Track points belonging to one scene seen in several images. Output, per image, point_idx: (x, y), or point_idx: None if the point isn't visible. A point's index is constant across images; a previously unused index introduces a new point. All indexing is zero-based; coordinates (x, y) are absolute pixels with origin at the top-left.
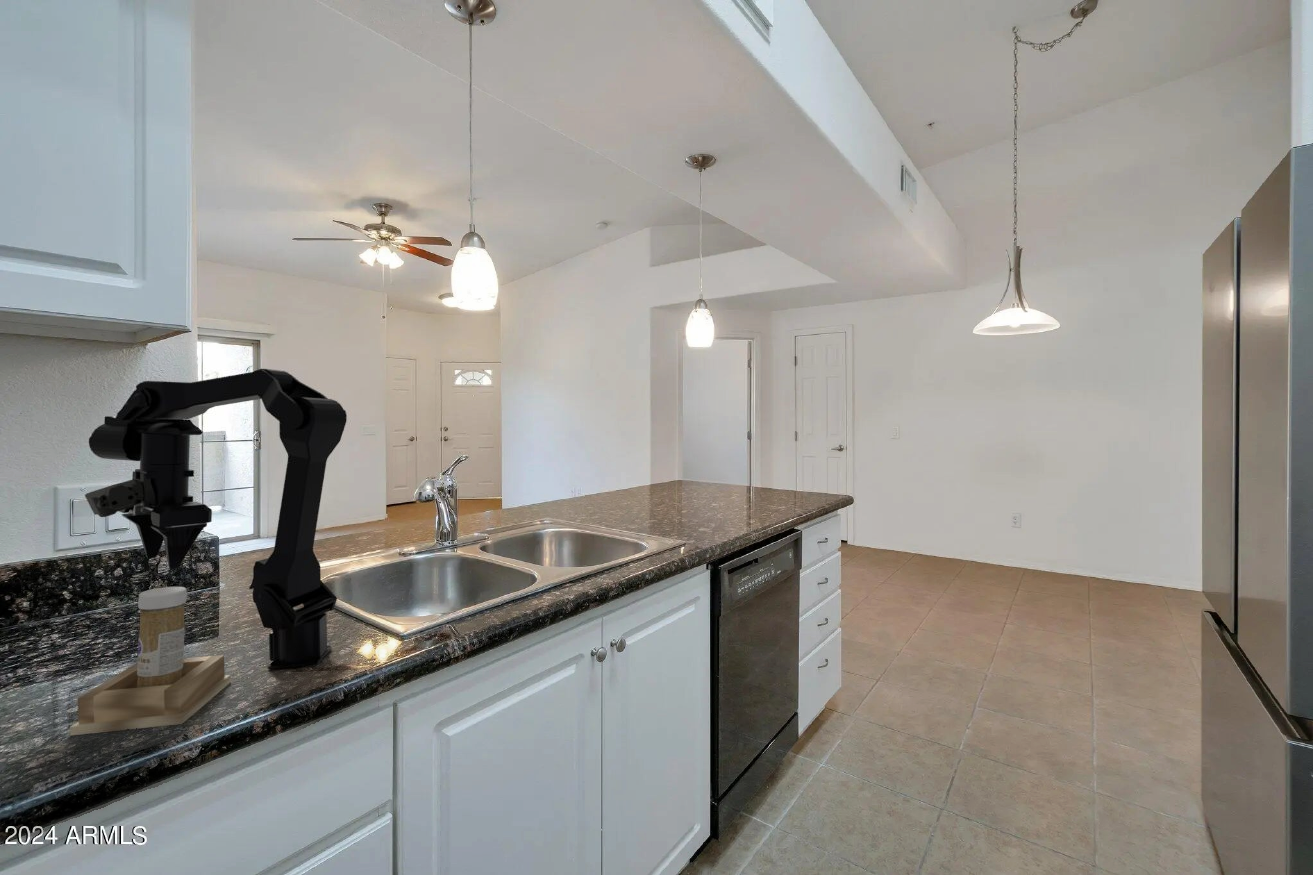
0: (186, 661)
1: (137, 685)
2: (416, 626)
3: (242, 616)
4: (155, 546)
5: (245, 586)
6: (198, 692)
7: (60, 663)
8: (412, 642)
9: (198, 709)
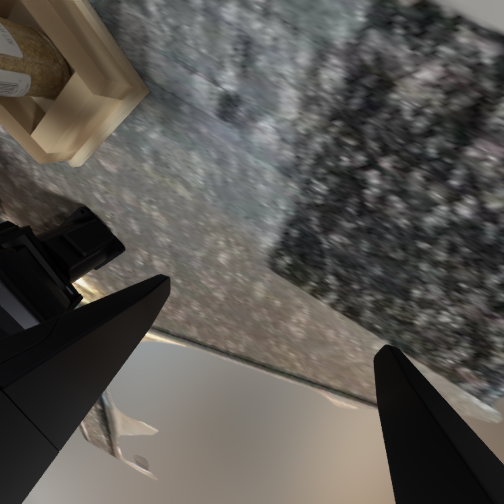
0: (47, 120)
1: (6, 19)
2: None
3: (314, 323)
4: (391, 405)
5: None
6: None
7: (425, 110)
8: None
9: None
